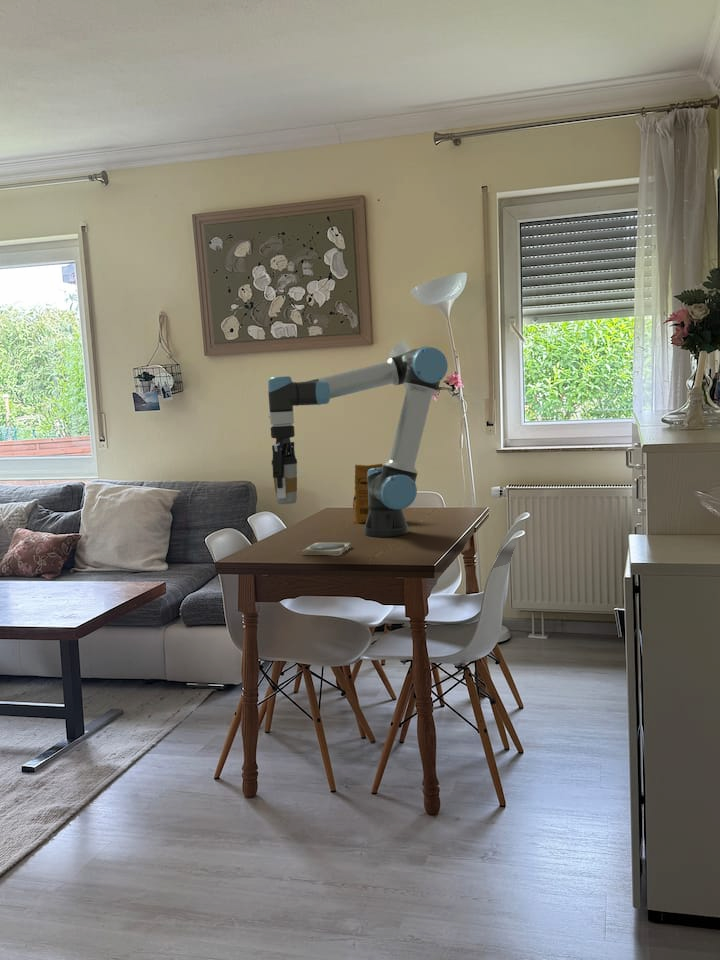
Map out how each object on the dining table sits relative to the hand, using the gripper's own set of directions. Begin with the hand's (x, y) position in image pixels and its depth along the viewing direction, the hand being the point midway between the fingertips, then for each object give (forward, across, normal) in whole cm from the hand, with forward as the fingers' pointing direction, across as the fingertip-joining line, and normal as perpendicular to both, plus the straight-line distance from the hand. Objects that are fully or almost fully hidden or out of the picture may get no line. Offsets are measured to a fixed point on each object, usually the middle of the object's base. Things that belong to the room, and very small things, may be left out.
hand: (286, 496), depth 276 cm
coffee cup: (+2, 0, 0) cm, 2 cm away
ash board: (+17, +4, +14) cm, 23 cm away
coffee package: (+18, -55, +12) cm, 59 cm away
